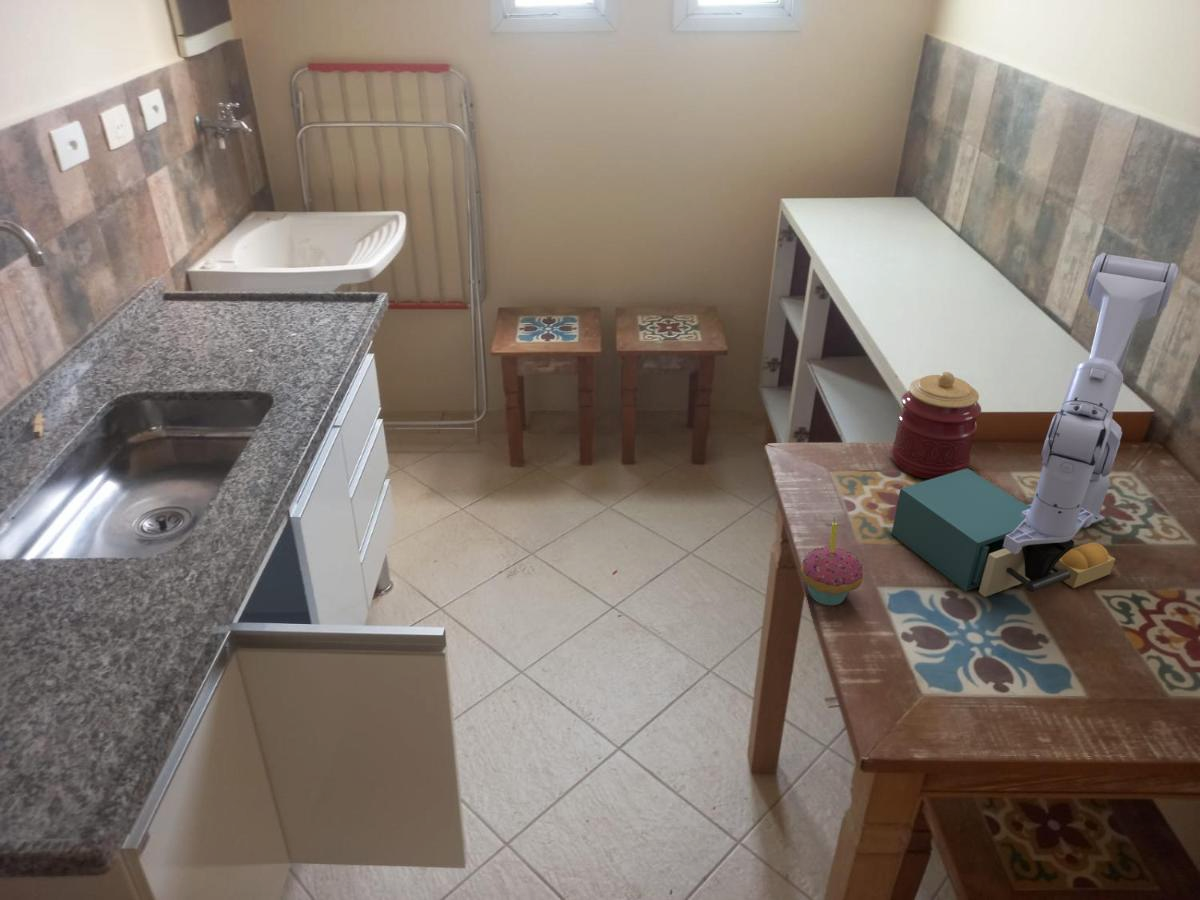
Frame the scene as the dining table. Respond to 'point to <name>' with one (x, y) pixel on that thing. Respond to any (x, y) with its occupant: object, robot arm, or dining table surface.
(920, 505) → the cabinet
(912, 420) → the kitchen canister
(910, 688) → the dining table surface
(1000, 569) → the drawer
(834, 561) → the cupcake
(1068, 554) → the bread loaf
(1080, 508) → the robot arm
